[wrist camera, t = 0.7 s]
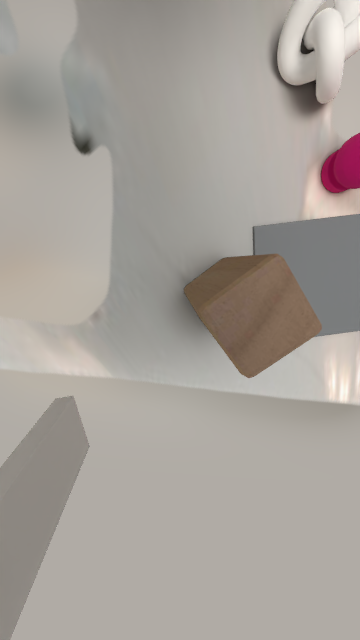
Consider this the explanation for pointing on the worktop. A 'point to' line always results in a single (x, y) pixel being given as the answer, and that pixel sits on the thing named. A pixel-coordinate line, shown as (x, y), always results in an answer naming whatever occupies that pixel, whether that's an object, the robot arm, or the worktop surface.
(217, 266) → the block
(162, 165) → the worktop surface
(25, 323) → the worktop surface
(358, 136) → the pepper mill
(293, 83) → the white decorative knot
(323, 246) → the mat
